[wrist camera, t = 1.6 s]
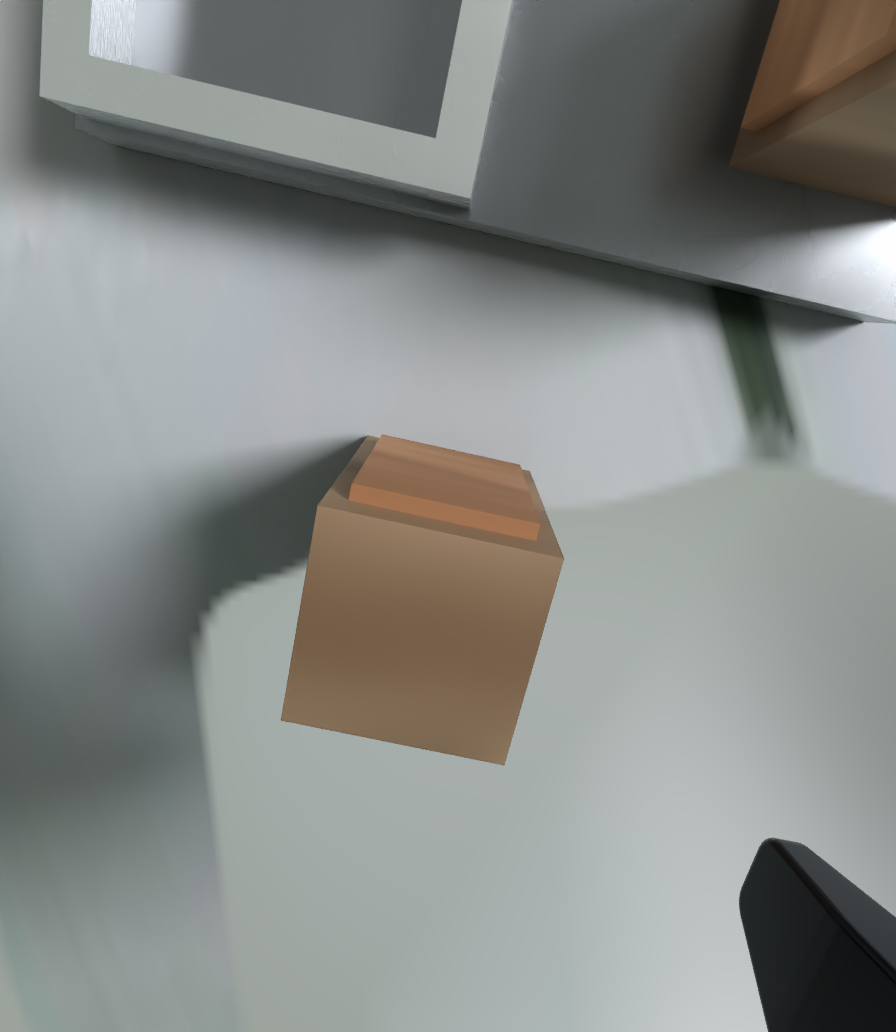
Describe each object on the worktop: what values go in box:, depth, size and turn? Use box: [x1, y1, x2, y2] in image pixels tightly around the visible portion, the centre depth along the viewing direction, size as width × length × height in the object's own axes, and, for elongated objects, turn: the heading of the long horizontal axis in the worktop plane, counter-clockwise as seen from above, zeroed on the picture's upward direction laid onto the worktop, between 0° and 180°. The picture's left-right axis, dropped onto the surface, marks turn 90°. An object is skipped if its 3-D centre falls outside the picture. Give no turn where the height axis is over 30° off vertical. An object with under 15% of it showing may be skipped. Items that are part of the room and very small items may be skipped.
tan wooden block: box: [281, 435, 564, 765], centre depth 14 cm, size 4×4×6 cm
